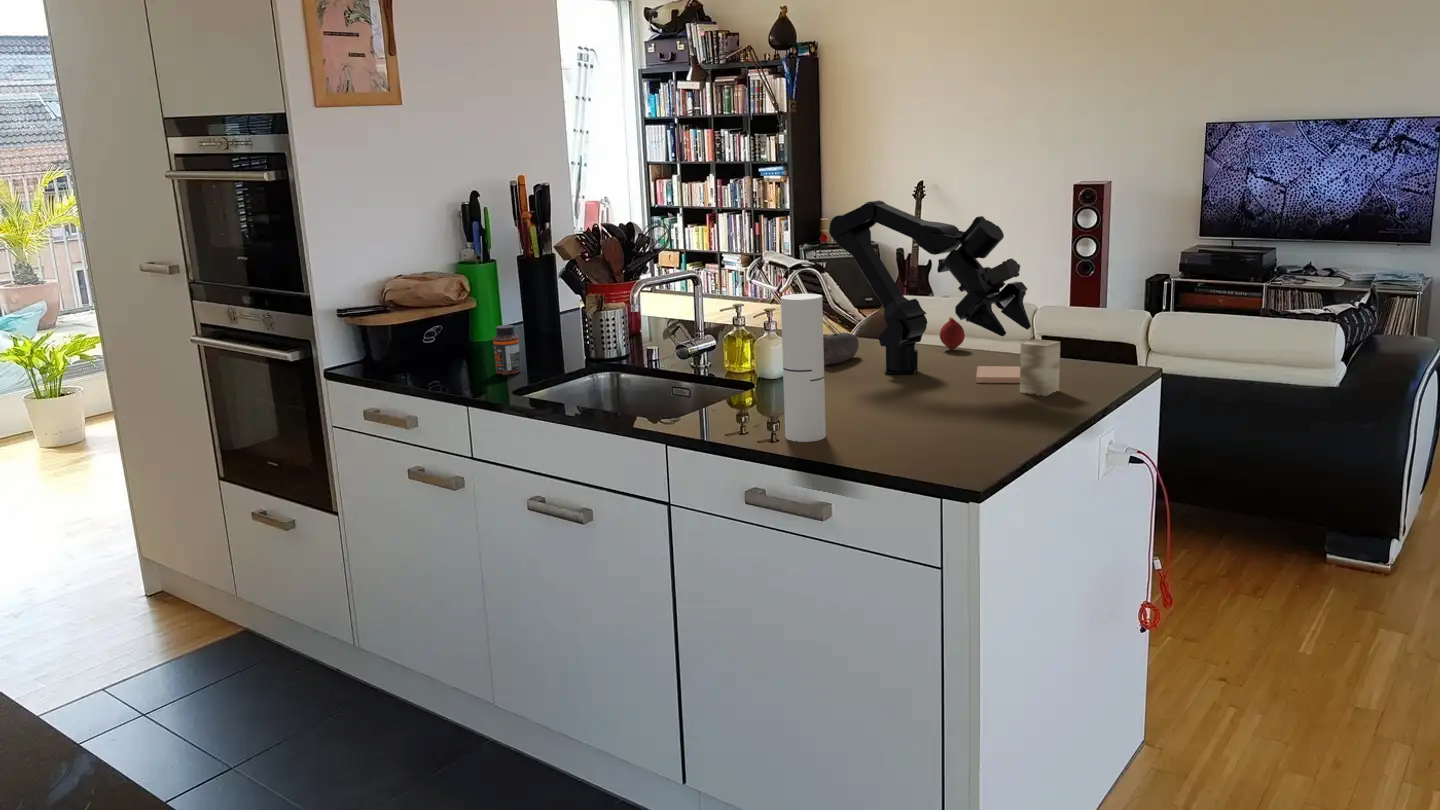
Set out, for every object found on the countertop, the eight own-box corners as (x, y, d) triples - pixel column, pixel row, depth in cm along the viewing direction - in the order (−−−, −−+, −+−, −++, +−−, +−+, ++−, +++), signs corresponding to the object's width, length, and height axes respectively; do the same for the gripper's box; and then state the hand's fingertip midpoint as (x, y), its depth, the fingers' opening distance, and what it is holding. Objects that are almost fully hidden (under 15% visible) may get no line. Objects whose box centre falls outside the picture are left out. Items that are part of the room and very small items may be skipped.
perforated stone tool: (848, 355, 269) (848, 326, 268) (867, 357, 266) (867, 328, 264) (812, 366, 258) (811, 336, 257) (831, 368, 255) (830, 338, 253)
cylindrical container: (782, 432, 203) (778, 295, 197) (821, 430, 203) (818, 292, 197) (788, 443, 196) (783, 300, 190) (828, 440, 196) (825, 298, 190)
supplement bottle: (491, 373, 267) (486, 326, 264) (513, 369, 271) (508, 323, 268) (504, 376, 263) (500, 329, 260) (526, 372, 267) (522, 325, 264)
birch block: (1019, 392, 224) (1020, 343, 222) (1034, 387, 228) (1035, 338, 226) (1044, 396, 220) (1045, 346, 218) (1059, 390, 224) (1060, 341, 222)
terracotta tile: (976, 382, 234) (976, 377, 234) (977, 371, 245) (977, 366, 244) (1030, 383, 232) (1030, 377, 231) (1029, 371, 242) (1029, 366, 242)
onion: (963, 347, 272) (963, 314, 270) (965, 352, 266) (965, 318, 264) (938, 348, 272) (938, 315, 270) (940, 352, 267) (940, 319, 265)
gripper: (967, 251, 219) (1017, 311, 214) (1019, 242, 231) (1067, 299, 226) (934, 289, 226) (981, 348, 221) (986, 278, 239) (1031, 334, 233)
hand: (1017, 331), depth 225 cm, fingers open, 9 cm apart
